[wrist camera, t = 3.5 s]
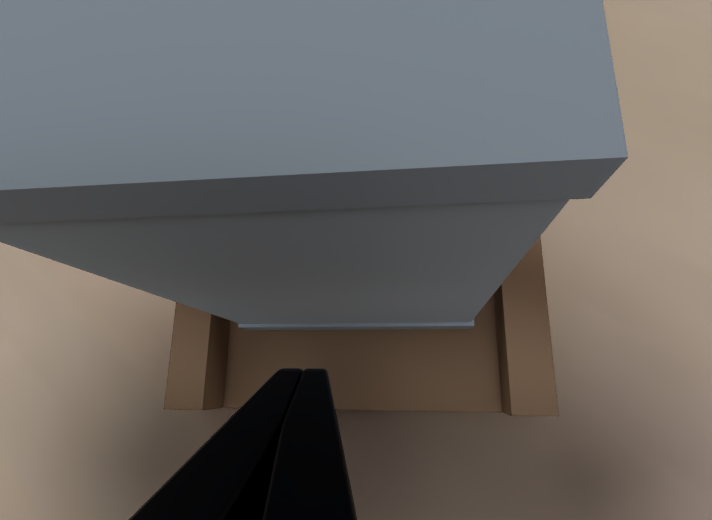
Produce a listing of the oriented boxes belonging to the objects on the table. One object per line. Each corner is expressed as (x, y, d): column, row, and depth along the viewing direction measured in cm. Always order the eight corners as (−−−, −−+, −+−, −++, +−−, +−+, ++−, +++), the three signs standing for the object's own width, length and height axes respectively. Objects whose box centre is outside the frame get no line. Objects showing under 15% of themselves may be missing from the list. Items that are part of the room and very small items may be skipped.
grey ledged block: (471, 329, 14) (628, 157, 3) (248, 330, 15) (-168, 199, 4) (460, 149, 16) (546, -345, 5) (260, 160, 17) (-22, -236, 6)
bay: (536, 411, 14) (592, 423, 10) (202, 405, 16) (109, 414, 11) (493, -61, 20) (517, -205, 15) (243, -32, 21) (191, -154, 16)
